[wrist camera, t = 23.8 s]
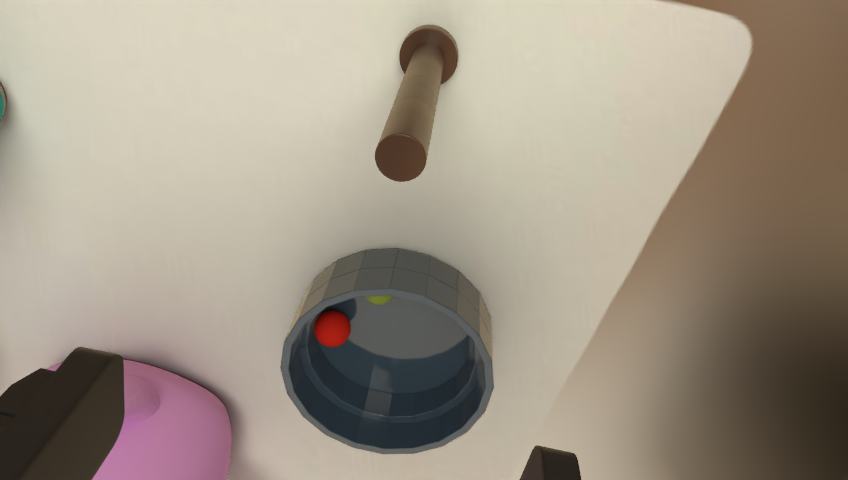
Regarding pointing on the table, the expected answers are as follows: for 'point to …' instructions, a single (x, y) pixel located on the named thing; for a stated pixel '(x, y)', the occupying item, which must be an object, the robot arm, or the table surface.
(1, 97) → the beverage can
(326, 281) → the bowl
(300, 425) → the table surface
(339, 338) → the cherry tomato
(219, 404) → the teapot
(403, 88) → the brown wooden pestle
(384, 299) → the grape
